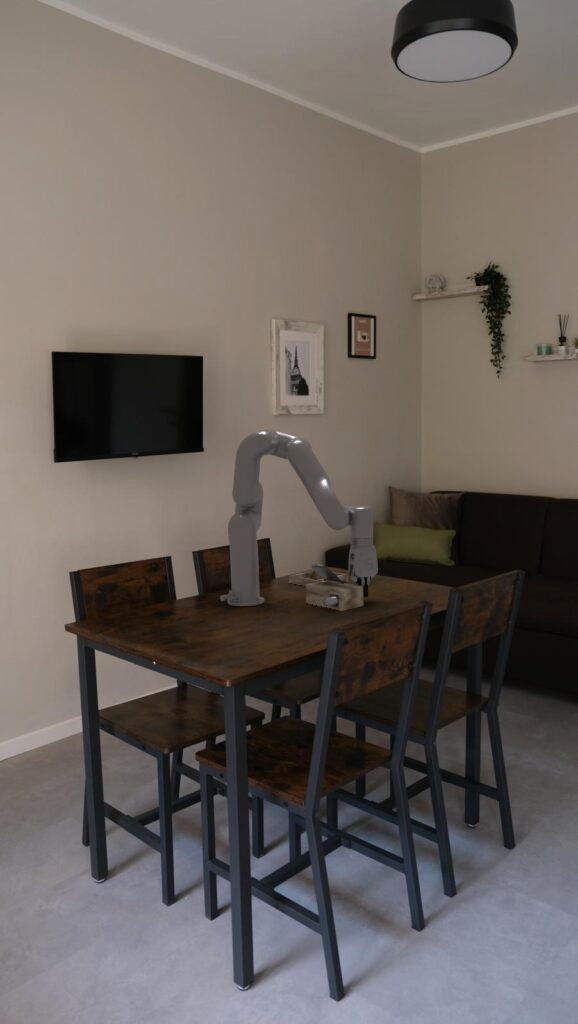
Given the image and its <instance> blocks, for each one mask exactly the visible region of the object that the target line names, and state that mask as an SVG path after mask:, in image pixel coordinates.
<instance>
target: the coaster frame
mask: <svg viewBox="0 0 578 1024" xmlns="http://www.w3.org/2000/svg"><path fill="white" fill-rule="evenodd" d="M332 572H333V573H334V574H335V575H336V576H337V577H338V578H339V579H340V580H345V582H346V583H349V573H348V574H347V573H342V572H336V571H332ZM309 575H310V571H307V572H306V571H305V572H301V573H297V574H292V575H291V574H290V575H287V576H288V577H287V578H288V584H289V583H292V584H291V585H294V584H297V585H296V586H299V585H303V586H302V587H304V586H306V584H311V583H316V582H320V581H324V579H319V580H314V579H310V577H309Z"/></svg>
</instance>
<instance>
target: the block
mask: <svg viewBox="0 0 578 1024" xmlns="http://www.w3.org/2000/svg"><path fill="white" fill-rule="evenodd" d="M336 595H339V604H336V605H332V606H327V608H326V606H324V604H323V599H324V598H328V597H332V596H336ZM305 600H306V601H305V602H306V604H307V603H308V605H312V604H313V605H312V606H316V605H317V607H321V606H322V608H326V609H330V608H331V610H336V611H340V612H344V611H347V610H352V609H356V608H359V607H363V606H364V597H363V586H358V585H357V584H353V583H352V584H351V583H347V582H346V583H345V580H342V581H341V583H338V582H333V581H327V580H326V579H324V581H320V582H316V583H311V584H306V587H305Z"/></svg>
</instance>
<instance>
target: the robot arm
mask: <svg viewBox="0 0 578 1024" xmlns="http://www.w3.org/2000/svg"><path fill="white" fill-rule="evenodd" d="M237 447H238V448H237V449H236V455H235V461H234V463H235V464H234V472H233V473H234V474H233V485H232V492H231V493H232V500H233V502H234V503H235V506H234V507H235V508H234V509H235V510H234V513H233V515H232V516H230V519H229V520H228V525H227V535H228V543H229V556H230V559H229V560H230V578H231V579H230V581H231V586H230V587H231V590H229V591H228V593H227V594H223V595H220V597H219V599H220V601H221V602H224V601H225V602H226V601H227V604H228V605H229V606H234V607H254V606H258V605H261V604H263V603H265V598H264V596H260V595H261V594H260V573H259V572H260V571H259V570H260V566H259V564H260V563H259V545H258V537H257V535H258V534H257V533H258V531H259V529H260V527H261V526H262V525H261V524H262V515H263V514H262V513H263V503H264V501H263V500H264V489H263V485H262V484H261V482H260V474H261V471H260V470H261V459H262V458H263V457H264V456H267V455H270V456H273V457H277V458H281V459H284V460H287V461H288V462H289V464H290V466H292V467H291V468H292V469H293V470H294V472H295V473H296V475H297V477H298V479H299V480H300V482H301V483H302V485H303V486H304V488H305V490H306V491H307V493H308V495H309V497H310V498H311V500H312V503H314V506H315V507H316V509H317V510H318V512H319V514H320V515H321V517H322V518H323V520H324V521H325V523H326V525H327V526H328V527H329V528H330V529H332V530H335V531H342V530H344V529H345V528H346V527H349V526H350V527H349V528H350V542H349V544H350V549H349V555H348V576H350V582H355V585H358V586H363V598H367V597H369V585H370V581H371V579H373V578H374V577H376V575H377V574H378V571H379V570H378V569H379V566H378V555H377V554H378V553H377V550H376V549H377V548H376V546H375V545H374V517H373V516H374V512H373V511H374V510H373V508H372V507H371V506H370V505H355V506H352V505H351V506H350V505H345V504H344V505H343V504H342V503H341V501H340V500H339V499H338V496H337V495H336V494H335V491H334V490H333V487H332V485H331V482H330V478H329V476H328V474H327V472H326V470H325V469H324V468H323V465H322V464H321V463H320V461H319V459H318V458H317V457H316V455H315V453H314V451H313V449H312V445H311V443H310V442H309V440H307V439H306V438H303V437H299V436H296V435H295V436H294V435H291V434H288V433H284V432H280V431H277V430H274V429H273V430H272V429H259V430H257V431H254V432H252V433H250V434H248V435H246V436H245V437H244V438H243V439H242V440H241V442H240V443H239V445H238V446H237Z"/></svg>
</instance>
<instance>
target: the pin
mask: <svg viewBox="0 0 578 1024" xmlns="http://www.w3.org/2000/svg"><path fill="white" fill-rule="evenodd" d="M323 604H324V606H326V607H327V606H332V605H336V604H339V595H336V596H332V597H328V598H324V599H323ZM326 607H325V608H326Z"/></svg>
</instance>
